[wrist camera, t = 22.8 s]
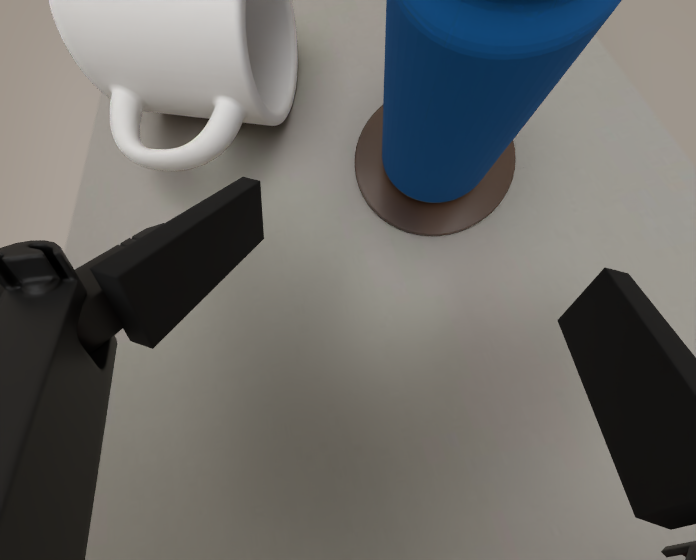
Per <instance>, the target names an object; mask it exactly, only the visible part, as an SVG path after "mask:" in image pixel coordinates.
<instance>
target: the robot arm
mask: <svg viewBox="0 0 696 560" xmlns="http://www.w3.org/2000/svg"><path fill="white" fill-rule="evenodd" d="M263 239H264V233H263V218H262V203H261V187H260V181H258V180H254V179H250V178H246V177H242V178H240V179H238V180H237V181H235V182H233V183H232V184H230V185H228V186H227V187H225V188H223V189H222V190H220V191H218V192H217V193H215V194H213V195H212V196H210V197H208V198H207V199H205V200H203V201H202V202H200V203H198V204H196V205H195V206H193V207H191V208H190V209H188V210H186V211H185V212H183V213H181V214H180V215H178V216H176V217H175V218H173V219H171V220H170V221H168V222H166V223H162V224H159V225H156V226H153V227H150V228H146V229H145V230H143V231H141V232H139V233H138V234H136V235H134V236H132V239H130V238H129V239H127V240H125V241H124V242H122V243H121V245H117V246H115V247H113V248H112V249H110V250H108V251H106V252H105V253H103V254H101V255H99V256H98V257H96V258H94V259H93V260H91V261H89V262H87V263H86V264H84V265H82V266H80V267H79V268H77V269H75V270H74V269H73V267H72V265H71V264H70V262H69V261H68V259H67V257H66V256H65V254H64V252H63V251H62V249H61V247H60V246H58V245H57V244H56V243H54V242H49V241H27V242H20V243H15V244H12V245H9V246H6V247H2V248H0V560H85V555H86V549H87V542H88V535H89V529H90V522H91V515H92V509H93V502H94V495H95V488H96V482H97V475H98V468H99V462H100V455H101V448H102V442H103V435H104V428H105V422H106V415H107V408H108V402H109V395H110V388H111V382H112V375H113V368H114V361H115V355H116V348H117V341H116V338H115V336H114V335H115V334H116V333H118V332H119V331H120V330H121V329H122V328H123V329H124V330H125V332H126V334H127V336H128V337H129V339H130V341H132V342H135V343H138V344H141V345H144V346H147V347H149V348H152V349H153V348H154V347H155V346H156V345H157V344H158V343H159V342H160V341H161V340H162V339H163V338H164V337H165V336H166V335H167V334H168V333H169V332H170V331H171V330H172V329H173V328H174V327H175V326H176V325H177V324H178V323H179V322H180V321H181V320H182V319H183V318H184V317H185V316H186V315H187V314H188V313H189V312H190V311H191V310H192V309H193V308H194V307H195V306H196V305H197V304H198V303H199V302H200V301H201V300H202V299H203V298H204V297H205V296H207V295H208V294H209V293H210V292H211V291H212V290H213V289H214V288H215V287H216V286H217V285H218V284H219V283H220V282H221V281H222V280H223V279H224V278H225V277H226V276H227V275H228V274H229V273H230V272H231V271H232V270H233V269H234V268H235V267H236V266H237V265H238V264H239V263H240V262H241V261H242V260H243V259H244V258H245V257H246V256H247V255H248V254H249V253H250V252H251V251H252V250H253V249H254V248H255V247H256V246H257V245H258V244H259V243H260V242H261V241H262V240H263ZM558 323H559V325H560V328H561V330H562V333H563V335H564V338H565V340H566V343H567V345H568V348H569V350H570V353H571V355H572V358H573V361H574V363H575V366H576V368H577V371H578V373H579V376H580V378H581V381H582V383H583V386H584V388H585V391H586V393H587V396H588V399H589V401H590V404H591V406H592V409H593V411H594V414H595V416H596V419H597V421H598V424H599V426H600V429H601V431H602V434H603V436H604V439H605V442H606V444H607V447H608V449H609V452H610V454H611V457H612V459H613V462H614V464H615V467H616V469H617V472H618V474H619V477H620V480H621V482H622V485H623V487H624V490H625V492H626V495H627V497H628V500H629V502H630V505H631V507H632V510H633V512H634V515H635V517H636V518H639V519H642V520H645V521H648V522H650V523H653V524H656V525H659V526H662V527H665V528H668V529H671V530H672V529H676V528H680V527H684V526H688V525H692V524H696V358H695V356H694V355H693V354H692V353H691V351H690V350H689V349H688V348H687V346H686V345H685V344H684V343H683V341H682V340H681V339H680V338H679V336H678V335H677V334H676V333H675V331H674V330H673V329H672V328H671V326H670V325H669V324H668V323H667V321H666V320H665V319H664V318H663V316H662V315H661V314H660V313H659V311H658V310H657V309H656V308H655V306H654V305H653V304H652V303H651V301H650V300H649V299H648V298H647V296H646V295H645V294H644V293H643V291H642V290H641V289H640V287H639V286H638V285H637V284H636V282H635V281H634V280H633V279H632V277H631V276H630V275H629V274H628V273H624V272H620V271H616V270H612V269H608V268H604V269H603V270H602V271H601V272H600V273H599V275H598V276H597V277H596V278H595V279H594V280H593V281H592V282H591V284H590V285H589V286H588V287H587V288H586V289H585V290H584V291H583V293H582V294H581V295H580V296H579V297H578V298H577V299H576V300H575V301H574V303H573V304H572V305H571V306H570V307H569V308H568V309H567V310H566V312H565V313H564V314H563V315H562V316H561V317H560V318H559V319H558ZM661 552H662V553H663V554H664V555H665V556H666V557H671V556H677V555H683V556H685V557H686V559H685V560H696V541H693V542H688V543H683V544H677V545H672V546H667V547H665V548H664V549H663V550H662V551H661Z"/></svg>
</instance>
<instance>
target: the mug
mask: <svg viewBox="0 0 696 560" xmlns="http://www.w3.org/2000/svg"><path fill="white" fill-rule="evenodd" d="M49 5H50V9H51V12H52V15H53V18H54V21H55V24H56V26H57V29H58V31H59V33H60V36H61V38H62V40H63V41H64V44H65V46H66V47H67V49H68V51H69V53H70V54H71V56H72V58H73V59H74V61H75V62H76V63H77V65H78V66H79V68H80V69H81V70H82V72H83V73H84V74H85V75H86V77H87V78H88V79H89V80H90V81H91V82H92V83H93V84H94V85H95V86H96V87H97V88H98V89H99V90H100V91H101V92H102V93H103V94H105V95H106V96H107V97H108V98H110V99H111V101H110V126H111V131H112V135H113V138H114V140H115V143H116V144H117V146H118V148H119V149H120V151H121V152H122V153H123V154H124V155H125V156H126V157H127V158H128V159H130V160H131V161H133V162H134V163H136V164H138V165H140V166H143V167H146V168H149V169H154V170H160V171H181V170H188V169H192V168H196V167H199V166H202V165H204V164H206V163H208V162H210V161H212V160H214V159H215V158H216V157H218V156H219V155H220V154H222V153H223V152H224V151H225V150H226V149H227V148H228V147H229V145H230V144H231V143H232V141H233V140H234V138H235V137H236V135H237V133H238V131H239V129H240V127H241V125H242V123H251V124H260V125H269V126H276V125H279V124H281V123H282V122H283V121H284V120H285V119H286V117H287V116H288V114H289V112H290V109H291V107H292V103H293V100H294V95H295V90H296V82H297V69H298V46H297V32H296V23H295V15H294V9H293V4H292V0H49ZM142 111H146V112H154V113H163V114H172V115H181V116H190V117H198V118H207V119H209V121H208V123H207V124H206V126H205V127H204V129H203V130H202V131H201V132H200V134H199V135H198V136H197V137H195V138H194V139H193V140H192V141H190V142H189V143H187V144H185V145H183V146H180V147H177V148H172V149H150V148H147V147H145V146H144V145H143V144H142V142H141V139H140V121H141V116H142Z"/></svg>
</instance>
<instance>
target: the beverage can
mask: <svg viewBox="0 0 696 560" xmlns="http://www.w3.org/2000/svg"><path fill="white" fill-rule="evenodd" d="M620 2H621V0H387V6H386V38H385V71H384V103H383V136H382V160H383V165H384V169H385V171H386V173H387V176H388V177H389V179H390V180H391V182H392V183H393V184H394V185H395V187H396V188H398V189H399V190H400V191H401V192H402V193H404V194H405V195H407V196H409V197H411V198H413V199H416V200H419V201H423V202H429V203H441V202H448V201H451V200H455V199H457V198H459V197H462V196H463V195H465V194H467V193H468V192H470V191H471V190H472V189H474V188H475V187H476V186H477V185H478V184H479V182H480V181H481V180H482V179H483V177H484V176H485V175H486V173H487V172H488V171H489V170H490V168H491V167H492V166H493V165H494V163H495V162H496V161H497V159H498V158H499V157H500V156H501V154H502V153H503V152H504V150H505V149H506V148H507V147H508V145H509V144H510V143H511V141H512V140H513V139H514V138H515V136H516V135H517V134H518V133H519V131H520V130H521V129H522V127H523V126H524V125H525V124H526V122H527V121H528V120H529V118H530V117H531V116H532V115H533V113H534V112H535V111H536V110H537V108H538V107H539V106H540V104H541V103H542V102H543V101H544V99H545V98H546V97H547V95H548V94H549V93H550V92H551V90H552V89H553V88H554V86H555V85H556V84H557V83H558V81H559V80H560V79H561V78H562V76H563V75H564V74H565V72H566V71H567V70H568V69H569V67H570V66H571V65H572V63H573V62H574V61H575V60H576V58H577V57H578V56H579V54H580V53H581V52H582V51H583V49H584V48H585V47H586V46H587V44H588V43H589V42H590V40H591V39H592V38H593V37H594V35H595V34H596V33H597V31H598V30H599V29H600V28H601V26H602V25H603V24H604V22H605V21H606V20H607V19H608V17H609V16H610V15H611V14H612V12H613V11H614V10H615V8H616V7H617V6H618V4H619V3H620Z"/></svg>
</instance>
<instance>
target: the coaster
mask: <svg viewBox="0 0 696 560" xmlns="http://www.w3.org/2000/svg"><path fill="white" fill-rule="evenodd" d="M382 136H383V105H382V106H381V107H380V108H379V109H378V110H377V111H376V112H375V113H374V114H373V115H372V117H371V118H370V119H369V120H368V122H367V123H366V125H365V127H364V128H363V130H362V133H361V135H360V137H359V140H358V143H357V147H356V153H355V171H356V178H357V182H358V185H359V188H360V191H361V193H362V195H363V197H364V199H365V200H366V202H367V204H368V205H369V206H370V207H371V208H372V210H373V211H374V212H375V213H376V214H377V215H378V216H379V217H380V218H382V219H383V220H384V221H386V222H387V223H389V224H390V225H392V226H394V227H396V228H398V229H400V230H403V231H406V232H408V233H413V234H417V235H425V236H441V235H448V234H452V233H456V232H460V231H462V230H465V229H467V228H470V227H471V226H473V225H475V224H477V223H478V222H480V221H481V220H483V219H484V218H485V217H487V216H488V215H489V214H490V213H491V212H492V211H493V210H494V209H495V208H496V207H497V206H498V205H499V203H500V202H501V201H502V199H503V198H504V196H505V194H506V193H507V191H508V189H509V187H510V184H511V182H512V178H513V174H514V170H515V148H514V143H513V140H512V141H511V143H510V144H509V145H508V147H507V148H506V149H505V150H504V152H503V153H502V154H501V156H500V157H499V158H498V159H497V161H496V162H495V163H494V165H493V166H492V167H491V168H490V170H489V171H488V172H487V173H486V175H485V176H484V177H483V179H482V180H481V181H480V182H479V184H478V185H477V186H476V187H475V188H474V189H472V190H471V191H470V192H468V193H467V194H465V195H463V196H462V197H459V198H457V199H455V200H451V201H448V202H441V203H429V202H423V201H419V200H416V199H413V198H411V197H409V196H407V195H405V194H404V193H402V192H401V191H400V190H399V189H398V188H396V187H395V185H394V184H393V183H392V182H391V180H390V179H389V177H388V176H387V173H386V171H385V169H384V165H383V160H382Z"/></svg>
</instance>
